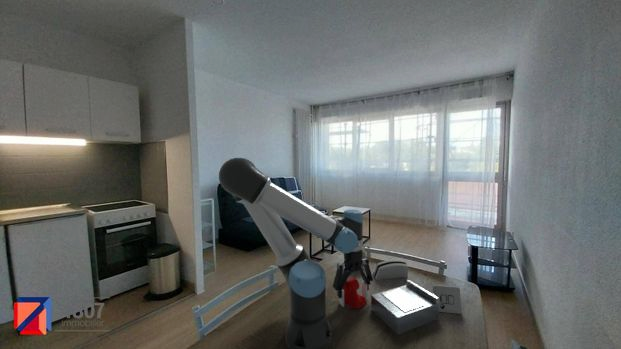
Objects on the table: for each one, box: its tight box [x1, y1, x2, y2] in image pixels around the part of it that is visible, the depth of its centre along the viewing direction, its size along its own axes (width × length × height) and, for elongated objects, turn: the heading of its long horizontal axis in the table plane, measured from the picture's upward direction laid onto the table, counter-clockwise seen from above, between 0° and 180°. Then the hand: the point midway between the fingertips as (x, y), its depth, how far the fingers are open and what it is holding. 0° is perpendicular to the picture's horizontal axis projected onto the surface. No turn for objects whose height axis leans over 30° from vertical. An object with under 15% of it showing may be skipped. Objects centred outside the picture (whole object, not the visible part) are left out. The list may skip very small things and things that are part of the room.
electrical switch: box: [432, 284, 463, 315], centre depth 89 cm, size 9×5×9 cm, turn 78°
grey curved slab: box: [372, 259, 409, 281], centre depth 114 cm, size 17×5×10 cm, turn 98°
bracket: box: [343, 277, 367, 310], centre depth 94 cm, size 9×6×10 cm
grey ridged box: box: [370, 279, 440, 336], centre depth 86 cm, size 19×14×8 cm
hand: (353, 301), depth 94 cm, fingers open, 10 cm apart
